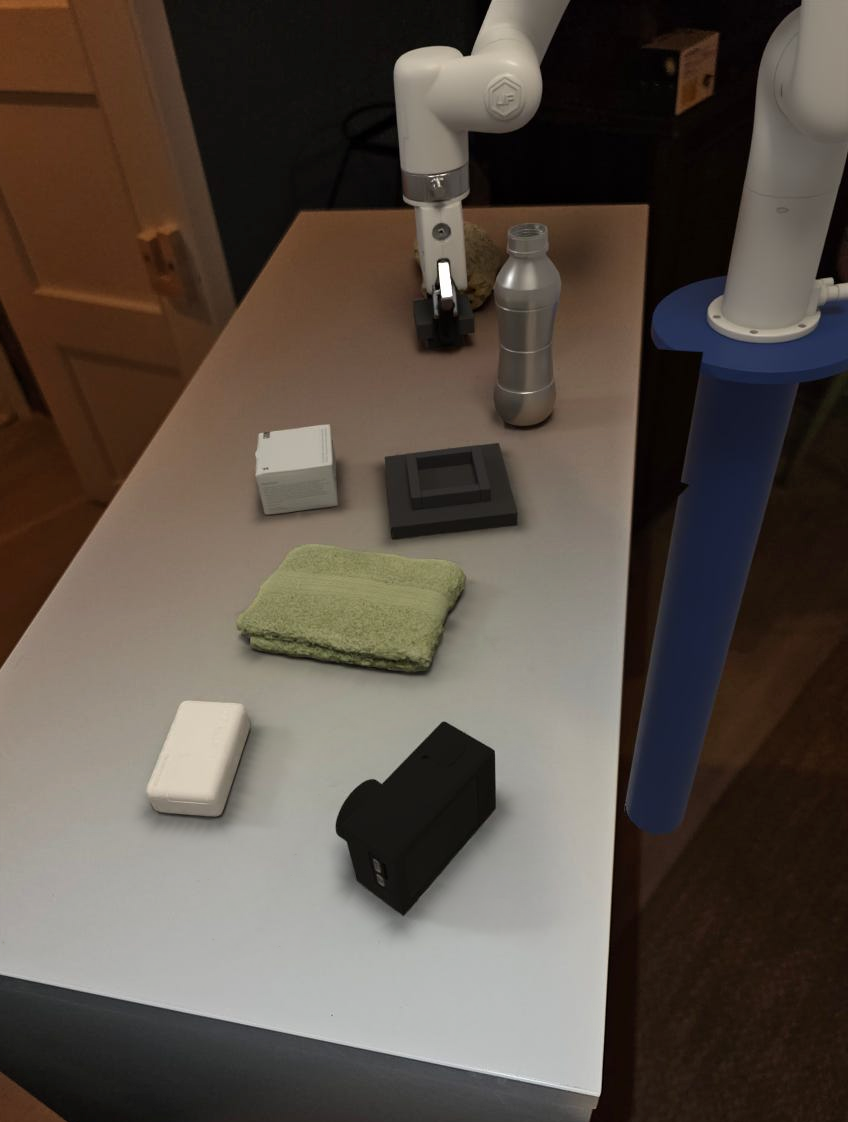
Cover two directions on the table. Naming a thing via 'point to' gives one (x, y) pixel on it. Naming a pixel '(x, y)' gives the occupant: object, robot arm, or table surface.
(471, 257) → the sponge
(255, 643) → the washcloth
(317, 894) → the table surface
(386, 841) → the digital camera
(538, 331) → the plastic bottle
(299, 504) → the small box
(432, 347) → the top pad
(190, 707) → the soap
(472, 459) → the base pad
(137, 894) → the table surface
